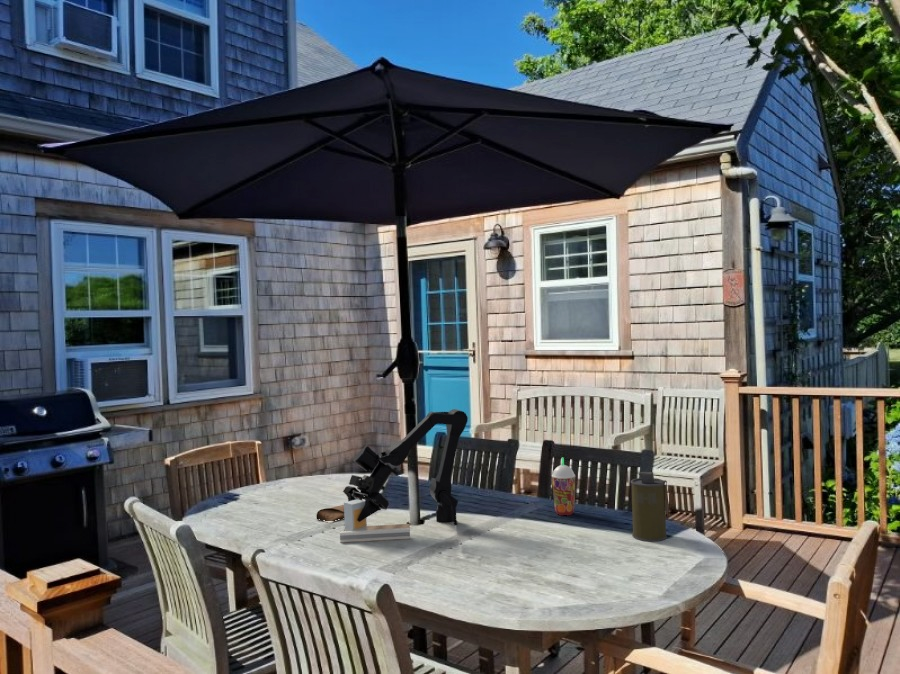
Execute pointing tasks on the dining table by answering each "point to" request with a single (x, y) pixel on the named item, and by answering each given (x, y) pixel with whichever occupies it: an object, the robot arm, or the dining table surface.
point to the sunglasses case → (331, 513)
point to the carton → (354, 515)
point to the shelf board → (384, 528)
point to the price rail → (375, 535)
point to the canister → (649, 507)
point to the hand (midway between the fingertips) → (351, 519)
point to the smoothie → (563, 489)
